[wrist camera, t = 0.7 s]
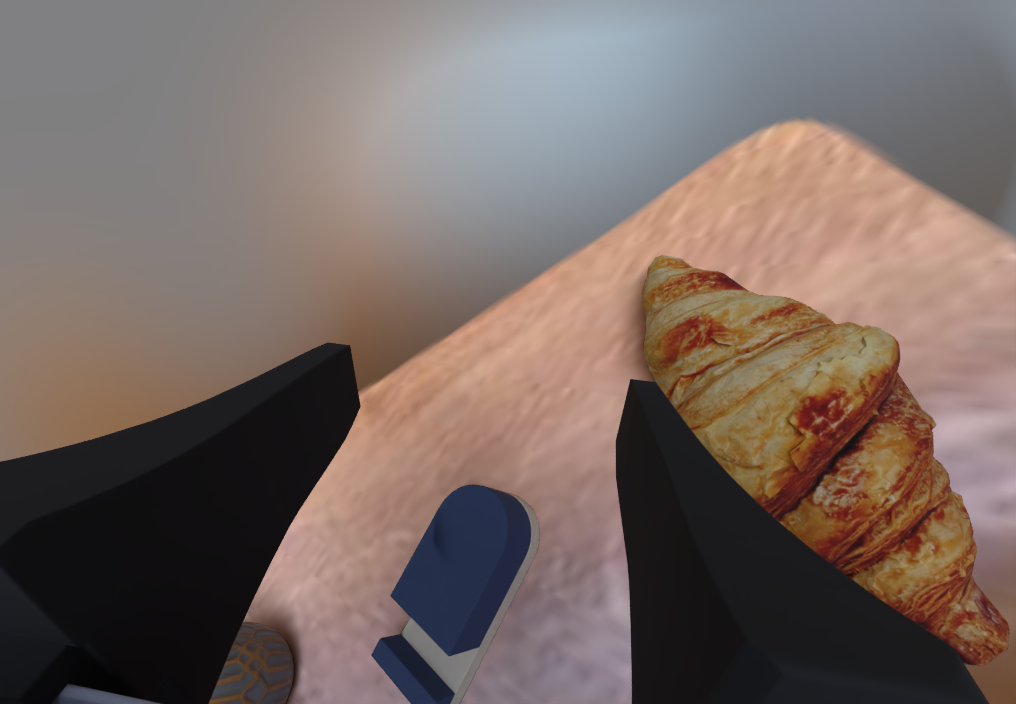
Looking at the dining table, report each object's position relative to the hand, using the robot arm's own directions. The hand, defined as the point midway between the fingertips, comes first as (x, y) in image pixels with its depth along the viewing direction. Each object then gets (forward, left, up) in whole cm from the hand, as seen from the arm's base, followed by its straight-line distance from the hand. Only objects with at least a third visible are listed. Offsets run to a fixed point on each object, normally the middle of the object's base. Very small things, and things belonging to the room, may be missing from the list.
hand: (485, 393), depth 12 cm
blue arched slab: (-7, +8, -16) cm, 19 cm away
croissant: (+5, -7, -16) cm, 18 cm away
